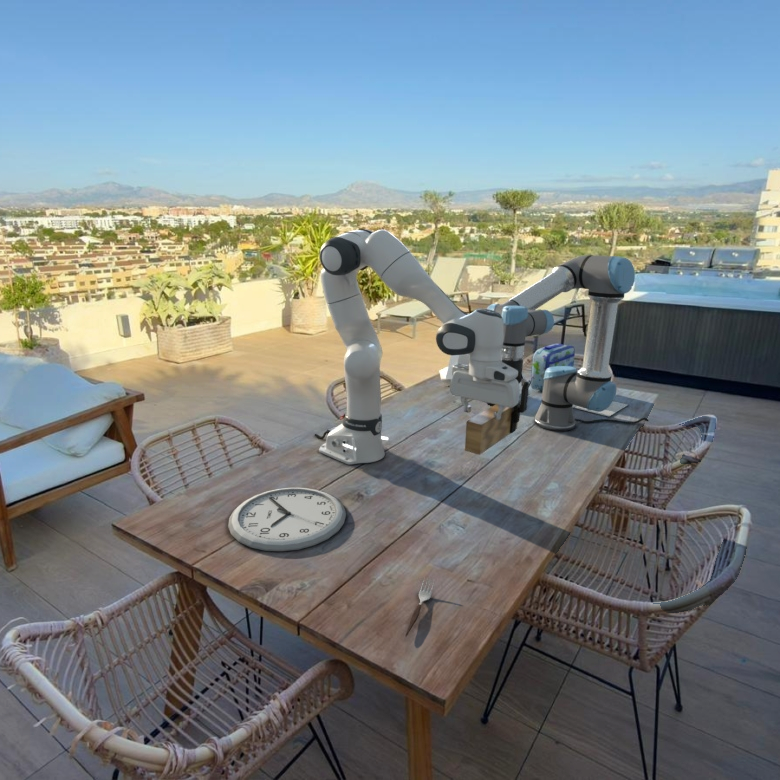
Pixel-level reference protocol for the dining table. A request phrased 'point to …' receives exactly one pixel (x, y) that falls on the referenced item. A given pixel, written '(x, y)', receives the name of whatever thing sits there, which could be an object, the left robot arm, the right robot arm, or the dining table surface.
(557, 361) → the lunch box
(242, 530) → the wall clock
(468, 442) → the bar
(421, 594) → the fork
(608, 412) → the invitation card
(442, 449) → the dining table surface
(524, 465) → the dining table surface
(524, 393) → the right robot arm
